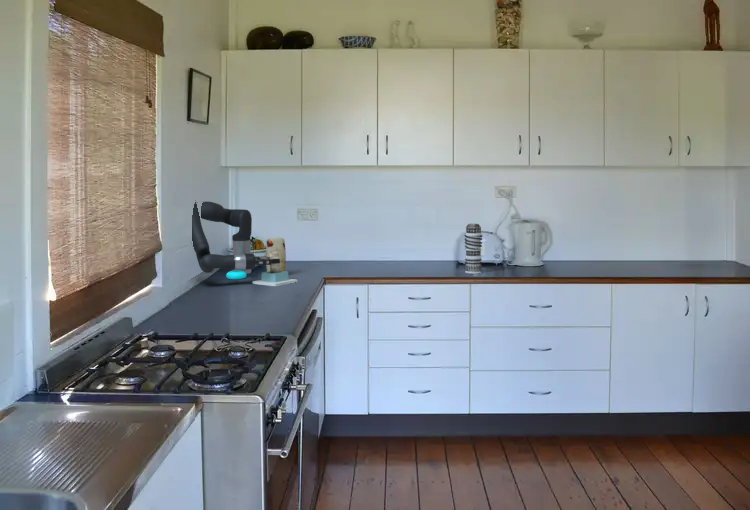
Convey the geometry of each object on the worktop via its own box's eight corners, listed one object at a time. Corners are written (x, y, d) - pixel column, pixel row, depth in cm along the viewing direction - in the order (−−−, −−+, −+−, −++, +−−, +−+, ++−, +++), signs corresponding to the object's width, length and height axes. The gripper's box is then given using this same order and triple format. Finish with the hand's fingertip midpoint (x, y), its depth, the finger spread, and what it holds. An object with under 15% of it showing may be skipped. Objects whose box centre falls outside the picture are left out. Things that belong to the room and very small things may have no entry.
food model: (267, 278, 367) (266, 238, 364) (266, 276, 373) (265, 236, 371) (286, 277, 369) (285, 237, 367) (285, 275, 376) (284, 236, 373)
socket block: (252, 283, 350) (252, 272, 349) (274, 279, 362) (274, 269, 361) (276, 286, 341) (275, 275, 341) (297, 282, 353) (297, 271, 353)
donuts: (222, 258, 368) (242, 256, 373) (223, 277, 370) (242, 276, 375) (229, 260, 360) (248, 258, 365) (230, 280, 361) (249, 278, 366)
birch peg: (268, 280, 351) (267, 251, 349) (274, 279, 354) (273, 250, 353) (275, 281, 348) (274, 251, 347) (281, 280, 352) (280, 251, 350)
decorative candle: (479, 274, 374) (479, 224, 371) (461, 273, 378) (462, 224, 375) (484, 271, 382) (484, 223, 379) (467, 270, 386) (467, 223, 383)
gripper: (246, 255, 338) (281, 253, 344) (240, 252, 351) (274, 250, 357) (246, 271, 339) (281, 269, 345) (241, 267, 352) (274, 265, 358)
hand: (277, 259), depth 351 cm, fingers open, 8 cm apart
